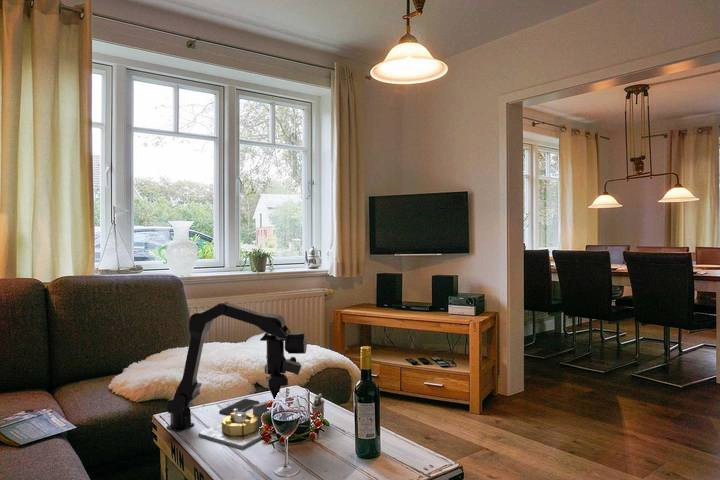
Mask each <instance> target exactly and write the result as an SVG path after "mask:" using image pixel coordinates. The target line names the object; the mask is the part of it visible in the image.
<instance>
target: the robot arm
mask: <svg viewBox="0 0 720 480" xmlns="http://www.w3.org/2000/svg"><path fill="white" fill-rule="evenodd" d="M220 316H225V317H228V318H231V319H234V320H237V321H241V322H244V323H247V324H250V325H254V326H255V327H257V328H258V329H260V330H261V331H262V332H264V334H263V336H262V337H261V338H260V339H259V340H260V341H262V342H263V341H264V342H266V355H265V356H266V357H265V358H266V363H265V365H264V370H263V371H264V372H263V373H264V374H267V375H268V376H266V377H265V379H266V383H267V386H268V388H269V391H270V394H271V395H272V397H273V400H274V399H275V397H276V395H277V393H278V392H279V393H280V391H281V387H286V386H288V385H289V379H288V376H287V375H286V374H287V373H291V374H294V375H297V376H299V374H300V373H301V369H302V364H301V362H299V361H297V358H296V357H295V356H291V357H289V358H286V357H285V352H286V353H288V354H292V355H294V354H297V355H298V354H300V355H301V354H302V355H303V354H304V355H305V354H307V349H308V348H307V347H308V346H307V345H308V343H307V338H306V333H305V332H299V333H298V332H296V333H294V332H293V333H292V332H291V330H290V328H288V326H287V324H286V321H285V319H284V317H283V316H282V315H281V314H275V313H261V312H257V311H256V310H255V311H254V310H251V309H248V308H245V307H242V306H238V305H235V304H231V303H229V302H227V301H222V302H219V303H218V304H216V305H215V306H213V307H211V308H208V309H207V310H206V309H202V310H200V311H197V312H195V313H193V314H192V315H190V317H189V319H188V331H189V333H188V334H189V337H190V339H189V342H188V343H189V344H188V349H187V355H186V360H185V365H184V368H183V369H184V370H183V374H182V379H181V380H180V382H179V384H178V386H177V387H176V390H175V393H174V395H173V400H172V401H170V403H169V404H168V405H167V406H166V409H167V413H168V414H169V415H170V417H169V418H170V421H169V423H170V424H168V425H167V426H166V429H169V430H172V431H176V432H182V431H183V430H186V429H188V428H191V427H193V426H195V423H194V422H192V418H191V417H192V413H191V408H190V406H191V405H193V402H194V401H195V400H196V399H197V397H198V396H199V395H201V393H200V392H201V391H200V389H201V387H202V383H201V382H198V380H197V378H198V373H199V367H200V362H201V356H202V352H203V347H204V343H205V339H206V336H207V335H208V332H209V331H210V328H211V326H212V323H213V321H214V320H215V319H217V318H219V317H220Z"/></svg>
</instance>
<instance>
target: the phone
mask: <svg viewBox="0 0 720 480" xmlns="http://www.w3.org/2000/svg"><path fill="white" fill-rule="evenodd" d="M259 403H261V402H260V401H259V400H255V399H248V398H244V399H240V400H239V401H237V402H235V403H232V404H230V405H228V406H225V407H224V408H221V409H219V412H218V413H219V415H225V416H230V415H231V413H233V409H235V408H237V409H238V412H245V413H246V411H248V410H251V409H253V405H256V404H259Z"/></svg>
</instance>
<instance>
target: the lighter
mask: <svg viewBox="0 0 720 480" xmlns="http://www.w3.org/2000/svg"><path fill="white" fill-rule="evenodd" d="M322 398H323V394H322V393H318V395H315V397H314V399H313V403H312V405H311V412H312V413H311V414H314V413H316V412H317V411H319V412H320V413H321V414H322V419H324V420H325V417H324V416H325V399H322Z"/></svg>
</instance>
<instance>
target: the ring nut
mask: <svg viewBox="0 0 720 480" xmlns="http://www.w3.org/2000/svg"><path fill="white" fill-rule="evenodd" d="M272 401H274V399H269V400H265V401H263V402H260V403H259V404H256V405H253V408H252V413H251V412H248V413H247V412H245V413H246V420H244V423H234V414H235V413H231V415H230V416H229V415H226V417H224V418H223V419H222V420H221V423H222V432H224V433H225V434H227V435H242V434H243V435H245V434H248V433H251V432H254V431H256V429H257V427H258V424H260V423H262V422H261V416H262V414H263V413H265V412H267V411H269V409H267V407H266V406H267V404H268V403H269V402H272Z"/></svg>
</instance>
